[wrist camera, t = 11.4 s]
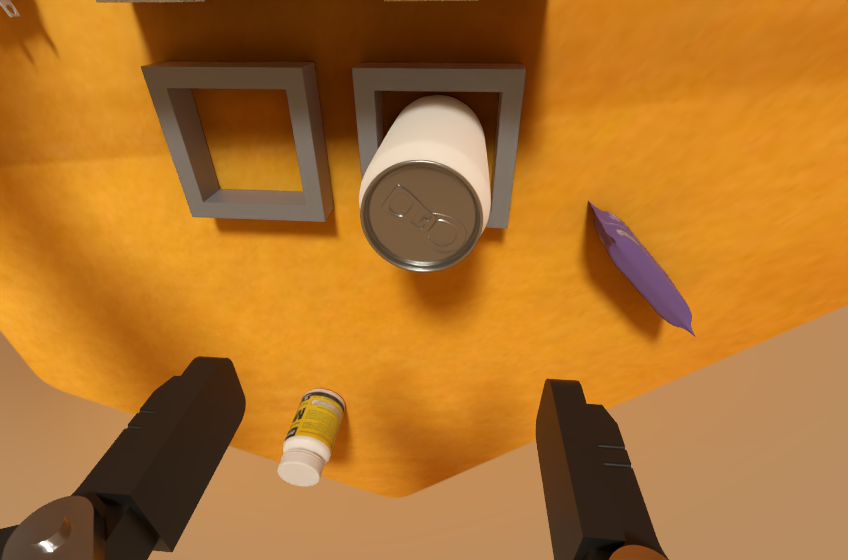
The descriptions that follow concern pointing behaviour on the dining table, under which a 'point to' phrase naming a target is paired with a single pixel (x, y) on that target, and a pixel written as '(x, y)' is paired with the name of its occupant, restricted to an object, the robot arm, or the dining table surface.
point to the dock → (318, 125)
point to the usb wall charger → (6, 1)
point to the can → (427, 187)
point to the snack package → (642, 269)
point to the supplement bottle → (311, 437)
